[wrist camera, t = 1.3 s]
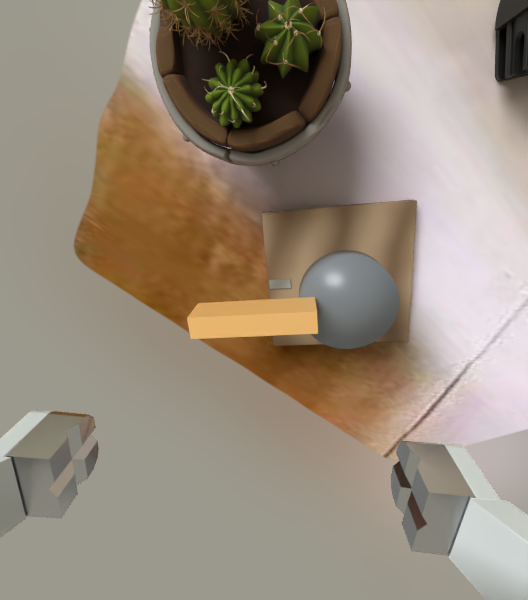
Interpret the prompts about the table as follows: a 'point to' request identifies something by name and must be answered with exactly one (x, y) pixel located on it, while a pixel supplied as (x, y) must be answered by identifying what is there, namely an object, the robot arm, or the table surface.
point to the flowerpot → (251, 72)
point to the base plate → (340, 236)
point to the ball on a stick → (313, 306)
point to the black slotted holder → (511, 40)
